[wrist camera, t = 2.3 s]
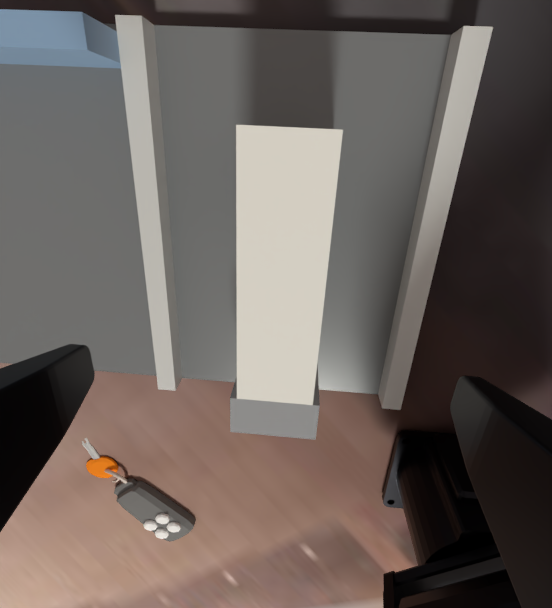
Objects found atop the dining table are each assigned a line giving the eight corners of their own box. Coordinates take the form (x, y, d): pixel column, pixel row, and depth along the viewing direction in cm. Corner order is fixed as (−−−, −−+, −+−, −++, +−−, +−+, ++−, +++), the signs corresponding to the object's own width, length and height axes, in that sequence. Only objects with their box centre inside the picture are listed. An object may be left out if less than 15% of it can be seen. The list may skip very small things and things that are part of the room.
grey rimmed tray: (393, 390, 21) (411, 442, 18) (-28, 355, 22) (-92, 396, 19) (472, 39, 14) (530, 4, 10) (-151, 18, 15) (-292, -19, 12)
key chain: (203, 513, 28) (197, 532, 27) (171, 530, 29) (164, 549, 28) (69, 407, 24) (55, 423, 23) (39, 431, 26) (24, 448, 24)
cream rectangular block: (313, 381, 21) (315, 439, 17) (244, 376, 21) (230, 431, 17) (340, 132, 15) (352, 130, 11) (247, 128, 16) (226, 124, 12)
